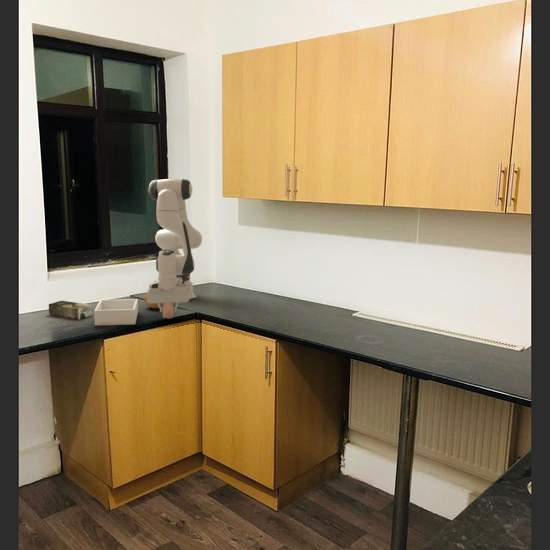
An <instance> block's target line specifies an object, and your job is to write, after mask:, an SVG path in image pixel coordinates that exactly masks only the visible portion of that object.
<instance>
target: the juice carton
mask: <svg viewBox="0 0 550 550" xmlns="http://www.w3.org/2000/svg"><path fill="white" fill-rule="evenodd" d="M92 306H93V305H91V304H87V303H81V302H75V301H68V300H58V301H55V302H52V303H49V304H48V314H49V315H50V314H51V315H53V316H55V315H58V316H57V317H60V316H64V317H63V318H67V317H71V318H70V319H73V318H77V319H76V320H81V319H84V318H87V317H91V316H93V307H92ZM51 315H50V316H51Z"/></svg>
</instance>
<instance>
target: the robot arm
mask: <svg viewBox="0 0 550 550" xmlns="http://www.w3.org/2000/svg"><path fill="white" fill-rule="evenodd" d="M148 193H149V196H150V198H151V199H152V200H153V201H155V202H156V214H155V215H156V222H157V224H158V225H159V226H160V228H162V229H159V230H158V231H156V234H155V237H154V238H155V243H156V245H157V246H158V247H159V248H160V249H161V250H160V251H159V252H158V256H157V258H156V260H155V267H156V268H155V269H156V271H157V272H158V277H157V278H158V279H157V280H152V281H150V282H149V283H148V289H147V293H146V294H147V302H148V303H157V305H158V307H159V308H158V309H159V313H163V308H161V306H160V303H164V302H172V303H173V304H174V303H175V306H173V313H175V312H177V307H179V303H182V304H183V303H188V302H189V301H190V300H191V299H196V298H197V295H196V294H195V293H194V285H193V282H192V281H191V274H192V273H193V272H194V270H195V267H196V266H195V260H194V257H193V253H192V249H198V248H199V247H200V246H201V245H202V242H203V236H202V233H201V232H200V231H199V230H197V228H195V227H193V225H192V224H191V223H190V220H189V219H188V213H187V207H186V206H187V205H186V200H189V199H190V198H191V197H192V194H193V186H192V183H191V181H190V180H189V179H186V178H185V179H184V178H182V179H179V178H165V179H153V180H151V182H150V183H149V187H148ZM179 250H182V251H183V253H181V252H180V251H179Z"/></svg>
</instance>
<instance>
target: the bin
mask: <svg viewBox="0 0 550 550" xmlns="http://www.w3.org/2000/svg"><path fill="white" fill-rule="evenodd" d="M138 314H139V302H138V298H135V299H134V298H131V299H130V298H126V299H123V298H122V299H119V298H118V299H99V301H98V304H97V305H96V307H95V308H94V326H120V325H122V326H123V325H136V323H137V319H138Z"/></svg>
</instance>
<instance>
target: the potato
mask: <svg viewBox="0 0 550 550" xmlns="http://www.w3.org/2000/svg"><path fill="white" fill-rule="evenodd" d="M143 301H144V303H145V305H146V306H147V307H149V308H151V309H153V310H157V309H160V308H159V307H158V305H157V303H148V302H147V293H145V294H144V295H143ZM160 306H161V308H163V303H160Z"/></svg>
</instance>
